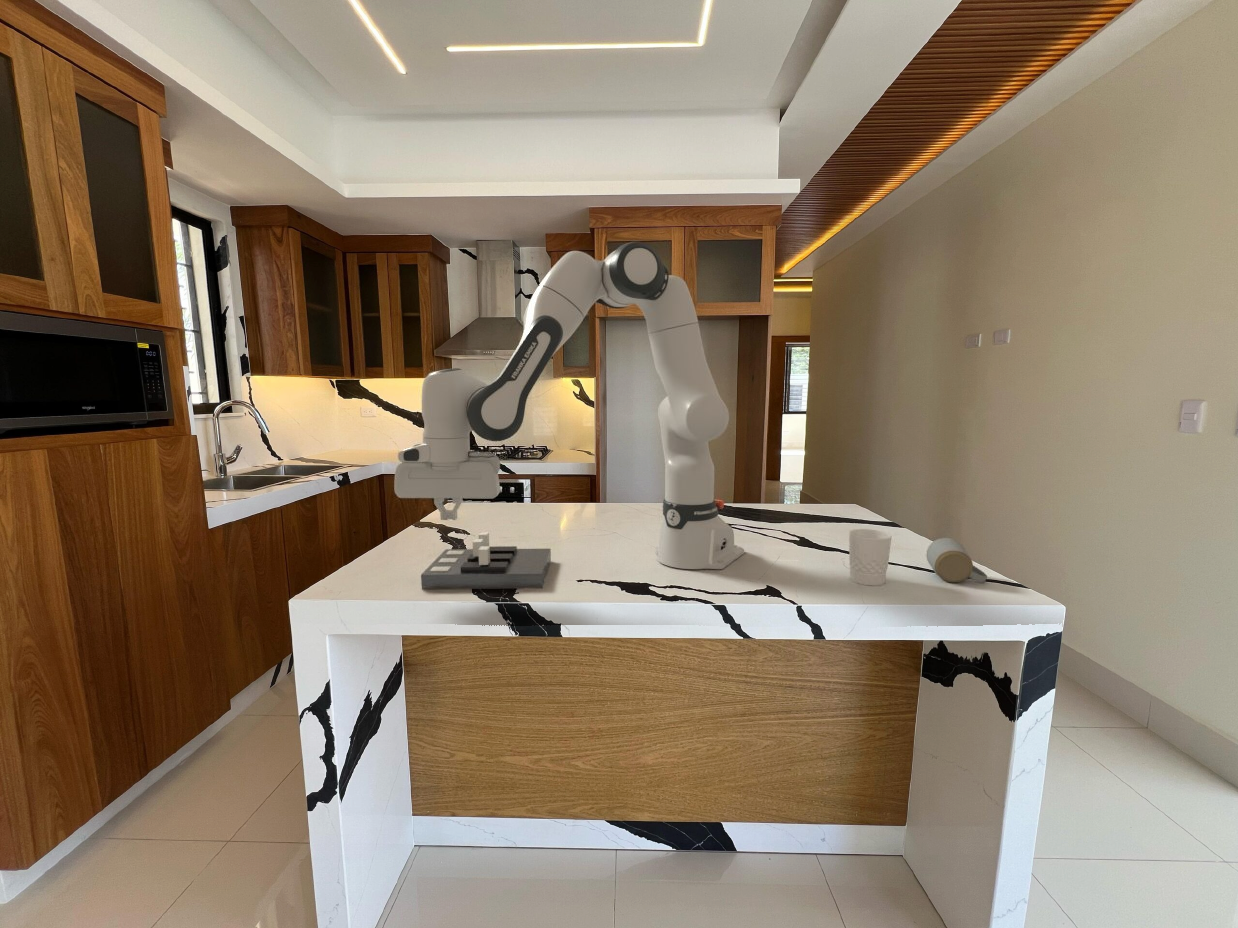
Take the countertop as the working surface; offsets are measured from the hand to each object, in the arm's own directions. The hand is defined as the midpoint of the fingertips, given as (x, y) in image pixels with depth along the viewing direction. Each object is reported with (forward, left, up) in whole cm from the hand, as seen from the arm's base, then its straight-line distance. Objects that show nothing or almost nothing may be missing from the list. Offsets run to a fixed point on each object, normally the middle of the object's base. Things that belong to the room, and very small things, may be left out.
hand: (449, 519), depth 111 cm
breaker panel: (-9, +1, -14) cm, 16 cm away
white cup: (-61, +61, -14) cm, 87 cm away
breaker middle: (-7, -1, -9) cm, 12 cm away
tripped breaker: (-5, +5, -9) cm, 11 cm away
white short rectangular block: (-11, -5, -9) cm, 15 cm away
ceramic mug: (-75, +74, -14) cm, 106 cm away
